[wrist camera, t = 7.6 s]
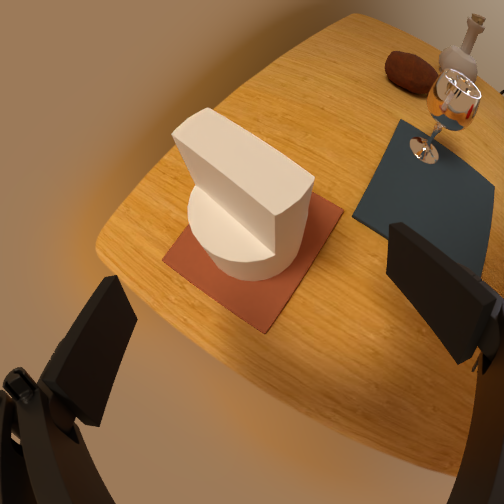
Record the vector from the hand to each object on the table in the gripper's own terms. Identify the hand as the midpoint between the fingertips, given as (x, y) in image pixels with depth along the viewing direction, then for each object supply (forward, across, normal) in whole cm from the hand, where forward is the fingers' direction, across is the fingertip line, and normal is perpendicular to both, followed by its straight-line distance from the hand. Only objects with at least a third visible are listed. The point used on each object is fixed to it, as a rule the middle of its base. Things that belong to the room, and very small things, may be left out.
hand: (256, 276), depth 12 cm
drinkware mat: (+14, +22, -3) cm, 27 cm away
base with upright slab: (+13, 0, -4) cm, 14 cm away
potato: (+29, +30, +12) cm, 43 cm away
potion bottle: (+33, +46, +16) cm, 59 cm away
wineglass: (+18, +23, +2) cm, 30 cm away
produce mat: (+14, 0, -4) cm, 14 cm away
